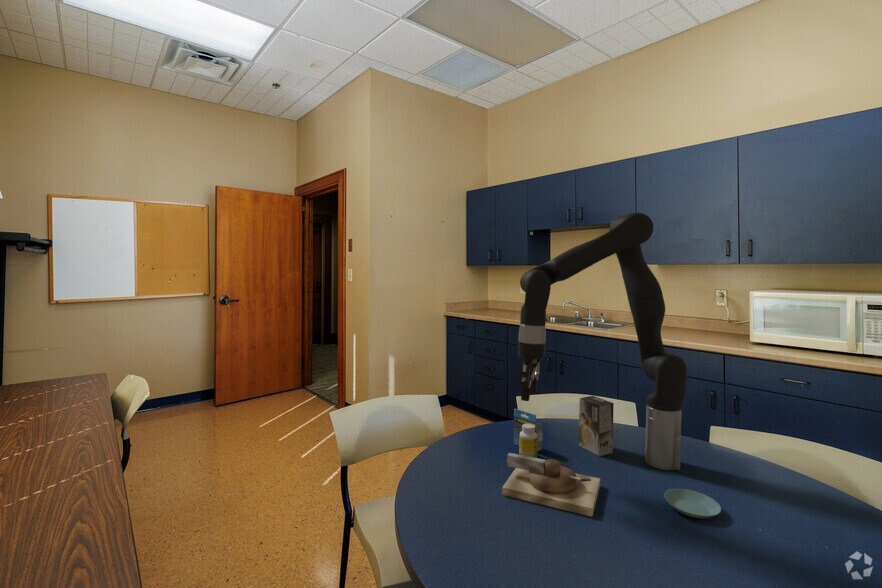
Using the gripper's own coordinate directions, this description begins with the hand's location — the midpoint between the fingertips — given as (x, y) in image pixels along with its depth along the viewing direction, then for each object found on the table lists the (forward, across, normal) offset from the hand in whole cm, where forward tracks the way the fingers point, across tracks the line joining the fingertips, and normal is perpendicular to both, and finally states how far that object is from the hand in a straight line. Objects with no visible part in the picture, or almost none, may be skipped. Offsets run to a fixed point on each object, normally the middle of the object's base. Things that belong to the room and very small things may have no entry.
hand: (528, 396), depth 122 cm
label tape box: (+22, +17, +3) cm, 27 cm away
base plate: (+21, -8, -9) cm, 25 cm away
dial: (+19, -8, -7) cm, 22 cm away
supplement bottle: (+22, +10, +2) cm, 24 cm away
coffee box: (+21, +24, -17) cm, 36 cm away
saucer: (+21, -2, -41) cm, 46 cm away
